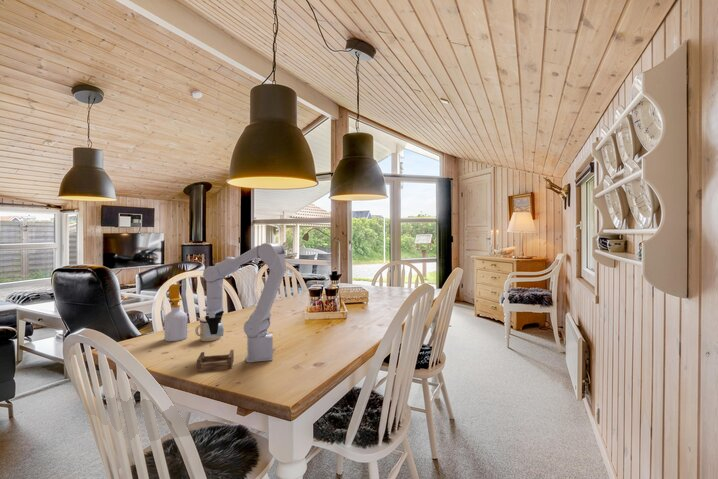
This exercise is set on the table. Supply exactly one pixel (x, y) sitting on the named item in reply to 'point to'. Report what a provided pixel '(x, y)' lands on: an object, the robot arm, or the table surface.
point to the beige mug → (202, 331)
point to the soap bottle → (175, 318)
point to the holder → (215, 362)
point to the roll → (219, 332)
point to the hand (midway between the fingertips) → (215, 332)
